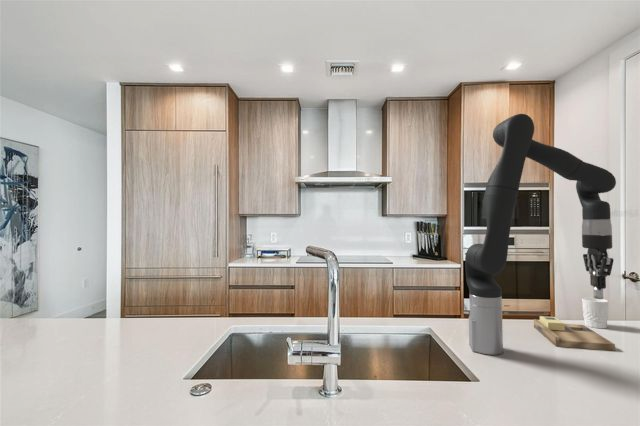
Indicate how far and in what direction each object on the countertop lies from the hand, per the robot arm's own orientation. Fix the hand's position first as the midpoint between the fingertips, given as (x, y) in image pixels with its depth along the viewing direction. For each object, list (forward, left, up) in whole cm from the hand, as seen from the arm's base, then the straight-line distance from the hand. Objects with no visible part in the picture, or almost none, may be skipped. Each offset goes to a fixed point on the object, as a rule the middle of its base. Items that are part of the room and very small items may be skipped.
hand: (598, 286), depth 108 cm
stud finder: (-9, +11, -17) cm, 22 cm away
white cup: (+10, +24, -19) cm, 32 cm away
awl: (0, 0, -4) cm, 4 cm away
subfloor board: (-5, +7, -19) cm, 21 cm away
